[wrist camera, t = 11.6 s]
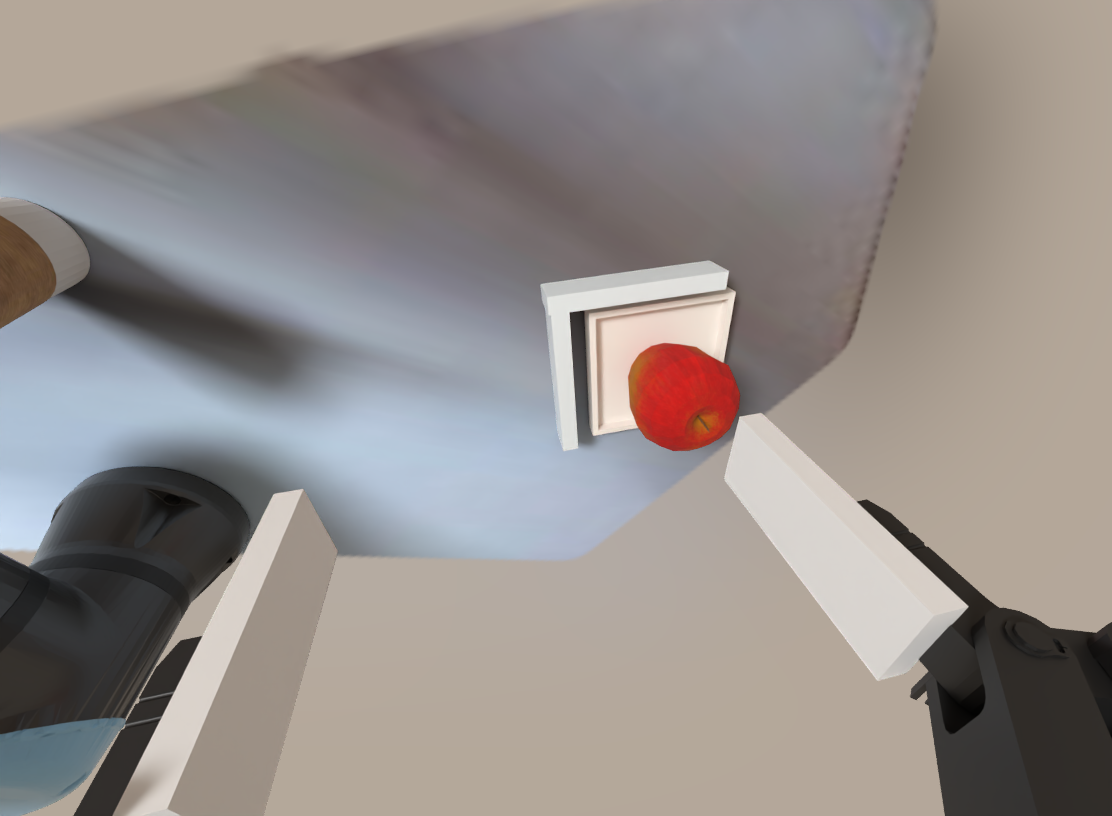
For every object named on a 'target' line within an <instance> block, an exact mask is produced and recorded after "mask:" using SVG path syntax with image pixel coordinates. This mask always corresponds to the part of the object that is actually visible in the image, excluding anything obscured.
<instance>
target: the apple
mask: <svg viewBox="0 0 1112 816" xmlns="http://www.w3.org/2000/svg"><path fill="white" fill-rule="evenodd" d="M628 386H629V403H630V409H631V411H632V414H633V417H634V419H635V422H636V424H637V426H638V428H639V429H640V431H641V432H642V433H643V435H644V436H645V438H647V439H648V440H650V441H652V442H654V443H656V444H657V445H659V446H661V447H664V448H667V449H670V450H672V451H689V450H694V449H697V448H700V447H703V446H706V445H709V444H710V443H712V442H714V441H716V440H717V439H719V438H721V437H722V436H723V435H724V434H725V433H726V432H727V431H728V430H729V429H730V427H731V424H732V422H733V420H734V418H735V416H736V414H737V411H738V409H739V400H740V393H739V390H738V387H737V384H736V381H735V379H734V376H733V374H732V372H731V370H730V368H729V366H728V365H726V364H725V363H723V362H721V361H719V360H717V359H715V358H713V357H712V356H710V355H708V354H707V353H705V352H703V351H702V350H700V349H699V348H697V347H694V346H688V345H682V344H672V343H661V344H657V345H653V346H650V347H649V348H647V349H646V350H644V351H643V352H641V353H640V354H639V355H638V356H637V358H636V359H635V361H634V362H633V364H632V365H631V369H630V372H629V375H628Z"/></svg>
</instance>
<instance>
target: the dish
mask: <svg viewBox="0 0 1112 816" xmlns="http://www.w3.org/2000/svg"><path fill="white" fill-rule="evenodd" d="M735 293H736V292H735V291H734V290H732V289H730V288H729V287H727V286H726V289H724V290H718V291H711V292H704V293H697V294H691V295H684V296H677V297H670V298H664V299H657V300H650V301H643V302H637V303H630V304H623V305H616V306H610V307H603V308H596V309H589V310H584V313H585V337H586V361H587V384H588V408H589V427H590V429H591V432H592V434H593V436H595V435H601V434H606V433H612V432H617V431H623V430H628V429H634V428H638V426H637V424H636V422H635V419H634V417H633V414H632V411H631V409H630V403H629V386H628V375H629V372H630V369H631V365H632V364H633V362H634V361H635V359H636V358H637V356H638V355H639V354H640V353H641V352H643V351H644V350H646V349H647V348H649V347H650V346H653V345H657V344H661V343H672V344H682V345H688V346H694V347H697V348H699V349H700V350H702V351H703V352H705V353H707V354H708V355H710V356H712V357H713V358H715V359H717V360H719V361H721V362H723V363H724V357H725V351H726V345H727V340H728V334H729V328H730V322H731V316H732V311H733V305H734V299H735Z"/></svg>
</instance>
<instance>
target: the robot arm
mask: <svg viewBox="0 0 1112 816" xmlns="http://www.w3.org/2000/svg"><path fill="white" fill-rule="evenodd" d="M724 480H725V481H726V483H727V484H728V485H729V486H730V488H731V489H732V490H733V492H734V493H735V494H736V496H737V497H738V498H739V500H740V501H741V502H742V504H743V505H744V506H745V508H746V509H747V510H748V512H749V513H750V514H751V515H752V517H753V518H754V519H755V521H756V522H757V523H758V524H759V526H760V527H761V528H762V530H763V531H764V533H765V534H766V535H767V537H768V538H769V539H770V540H771V541H772V543H773V544H774V546H775V547H776V548H777V550H778V551H779V552H780V553H781V555H782V556H783V557H784V559H785V560H786V561H787V563H788V564H789V565H790V567H791V568H792V569H793V571H794V572H795V573H796V575H797V576H798V577H799V579H800V580H801V581H802V583H803V584H804V585H805V586H806V588H807V589H808V590H809V592H810V593H811V594H812V596H813V597H814V598H815V600H816V601H817V602H818V603H819V605H820V606H821V607H822V609H823V610H824V611H825V613H826V614H827V615H828V617H829V618H830V619H831V621H832V622H833V623H834V625H835V626H836V627H837V628H838V630H839V631H840V632H841V634H842V635H843V636H844V638H845V639H846V640H847V642H848V643H849V644H850V646H851V647H852V648H853V649H854V651H855V652H856V653H857V655H858V656H859V657H860V658H861V660H862V661H863V663H864V664H865V665H866V667H867V668H868V669H869V671H870V672H871V673H872V674H873V676H874V677H875V678H876V680H877V681H879V680H883V679H886V678H890V677H894V676H897V675H901V674H905V673H907V672H908V671H909V670H910V669H911V668H912V667H913V666H914V665H915V664H916V663H917V661H918V660H920V662H922V664H923V665H924V666H925V667H926V668H927V669H928V671H929V672H928V673H927V674H926V675H925V676H924V677H923V678H922V679H921V680H920V681H919V682H918V683H917V684H916V685H915V686H914V687H913V688H912V689H911V696H910V697H911V698H913V699H915V700H917V699H918V698H919V697H920V696H921V695H922V694H923V693H924V692H925V691H926V690H927V697H928V699H927V700H926V702H925V704H927V705H929V710H930V717H931V724H932V731H933V738H934V745H935V751H936V758H937V765H938V772H939V778H940V785H941V792H942V798H943V805H944V812H945V816H1112V622H1111V623H1109V624H1108V625H1106V626H1105V627H1104V628H1102V629H1101V630H1100V631H1098V632H1097V633H1092V632H1083V631H1074V630H1065V629H1055V628H1050V627H1048V626H1047V625H1045V624H1044V623H1042V622H1041V621H1039V620H1037V619H1036V618H1034V617H1031V616H1029V615H1027V614H1025V613H1022V612H1020V611H1016V610H1012V609H1007V608H999V607H997V606H996V605H994V604H993V603H992V602H990V601H989V600H988V599H987V598H985V597H984V596H983V595H982V594H981V593H980V592H979V591H978V590H976V589H975V588H974V587H973V586H972V585H971V584H970V583H969V582H967V581H966V580H965V579H964V578H963V577H962V576H961V575H960V574H958V573H957V572H956V571H955V570H954V569H953V568H952V567H951V566H949V565H948V564H947V563H946V562H945V561H944V560H943V559H942V558H940V557H939V556H938V555H937V554H936V553H935V552H934V551H932V550H931V549H930V548H929V547H926V546H925V545H924V542H922V541H921V540H920V539H919V538H918V537H917V536H916V535H915V534H913V533H910V532H909V530H908V528H907V527H906V526H904V525H903V524H902V523H901V522H900V521H899V520H898V519H896V518H895V517H894V516H893V515H892V514H891V513H889V512H888V511H886V510H884V509H883V508H881V507H879V506H877V505H875V504H874V503H872V502H870V501H868V500H862V501H858V502H856V501H855V500H854V499H853V498H852V497H851V496H850V495H849V494H848V493H847V492H845V491H844V490H843V489H842V488H841V487H840V486H839V485H838V484H837V483H836V482H835V481H834V480H833V479H831V478H830V477H829V476H828V475H827V474H826V473H825V472H824V471H823V470H822V469H821V468H820V467H818V465H817V464H815V463H814V462H813V461H812V460H811V459H810V458H809V457H808V456H807V455H806V454H805V453H804V452H803V451H802V450H800V449H799V448H798V447H797V446H796V445H795V444H794V443H793V442H792V441H791V440H790V439H789V438H787V437H786V436H785V435H784V434H783V433H782V432H781V431H780V430H779V429H778V428H777V427H776V426H775V425H774V424H773V423H772V422H770V421H769V420H768V419H767V418H766V417H765V416H764V415H763V414H762V413H759V414H753V415H747V416H741V417H739V421H738V425H737V429H736V433H735V437H734V441H733V445H732V449H731V453H730V458H729V461H728V465H727V469H726V473H725V477H724ZM249 531H250V525H249V520H248V517H247V515H246V513H245V511H244V510H243V508H242V507H241V506H240V505H239V503H238V502H237V501H236V500H235V499H233V498H232V497H231V496H230V495H229V494H227V493H226V492H225V491H223V490H222V489H220V488H218V487H217V486H215V485H213V484H211V483H209V482H207V481H205V480H202V479H200V478H197V477H195V476H192V475H189V474H185V473H182V472H178V471H174V470H168V469H162V468H154V467H124V468H116V469H111V470H107V471H103V472H100V473H97V474H95V475H93V476H91V477H89V478H87V479H85V480H84V481H83V482H81V483H80V484H79V485H78V486H77V487H76V488H75V489H74V490H73V491H72V492H70V493H69V494H68V495H67V496H66V497H65V498H64V499H63V500H62V501H61V503H60V504H59V505H58V507H57V508H56V510H55V512H54V515H53V518H52V521H51V525H50V527H49V529H48V531H47V533H46V535H45V536H44V538H43V541H42V543H41V545H40V547H39V549H38V551H37V553H36V556H35V557H34V560H33V562H32V563H31V565H30V566H29V567H27V566H25V565H24V564H21V563H20V562H18V561H16V560H14V559H12V558H10V557H8V556H6V555H4V554H2V553H0V816H21V815H24V814H27V813H30V812H33V811H36V810H39V809H41V808H43V807H46V806H48V805H51V804H53V803H55V802H57V801H59V800H60V799H62V798H64V797H65V796H67V795H68V794H70V793H71V792H73V791H74V790H75V789H76V788H78V787H79V786H80V785H81V784H82V783H83V782H84V781H85V780H86V779H87V777H88V776H89V775H90V774H91V772H92V771H93V769H94V768H95V766H96V765H97V763H98V762H99V760H100V759H101V757H102V756H103V754H104V753H105V751H106V750H107V748H108V747H109V745H110V743H111V742H112V741H113V739H114V738H115V736H116V735H117V733H118V731H120V730H121V729H122V728H123V727H124V725H125V724H126V726H125V728H124V729H123V730H121V731H120V733H119V735H118V737H117V739H116V740H115V742H114V744H113V746H112V747H111V749H110V751H109V753H108V755H107V757H106V759H105V760H104V762H103V764H102V765H101V767H100V769H99V771H98V773H97V774H96V776H95V778H94V780H93V782H92V783H91V785H90V787H89V789H88V790H87V792H86V794H85V796H84V798H83V800H82V801H81V803H80V805H79V807H78V808H77V810H76V812H75V814H74V816H263V815H264V812H265V809H266V805H267V801H268V797H269V794H270V791H271V787H272V783H273V780H274V776H275V773H276V769H277V766H278V762H279V759H280V755H281V751H282V748H283V745H284V741H285V738H286V734H287V730H288V727H289V723H290V720H291V716H292V712H293V709H294V705H295V702H296V698H297V695H298V691H299V688H300V684H301V681H302V677H303V673H304V670H305V666H306V663H307V659H308V656H309V652H310V649H311V645H312V642H313V638H314V635H315V631H316V627H317V624H318V620H319V617H320V613H321V609H322V606H323V603H324V599H325V595H326V592H327V588H328V585H329V581H330V578H331V574H332V570H333V567H334V563H335V560H336V556H337V553H338V550H337V549H336V547H335V545H334V543H333V541H332V540H331V538H330V536H329V534H328V532H327V531H326V529H325V527H324V525H323V523H322V522H321V520H320V518H319V516H318V514H317V513H316V511H315V509H314V507H313V505H312V504H311V502H310V500H309V498H308V496H307V495H306V493H305V491H304V489H300V490H294V491H288V492H282V493H276V494H273V496H272V498H271V500H270V502H269V504H268V506H267V508H266V510H265V512H264V514H263V516H262V518H261V520H260V522H259V524H258V526H257V528H256V530H255V532H254V534H253V536H252V538H251V540H250V542H249V544H248V546H247V548H246V550H245V552H244V554H243V556H242V558H241V561H240V562H239V564H238V567H237V568H236V570H235V572H234V574H233V576H232V578H231V580H230V582H229V584H228V586H227V588H226V590H225V592H224V594H223V596H222V598H221V600H220V602H219V604H218V606H217V608H216V610H215V612H214V614H213V616H212V618H211V620H210V622H209V624H208V626H207V628H206V630H205V632H204V634H203V636H200V637H195V638H191V639H186V640H181V641H180V642H179V643H178V644H177V645H176V646H175V647H174V648H173V650H172V651H171V652H170V653H169V654H168V655H167V656H166V657H165V659H164V660H163V661H162V662H161V663H160V664H159V665H158V666H157V667H156V669H155V671H154V672H153V674H152V676H151V678H150V680H149V681H148V683H147V685H146V687H145V688H144V690H143V692H142V694H141V696H140V697H139V699H140V701H139V703H138V704H136V705H135V706H134V708H133V710H132V712H131V714H130V715H129V717H128V719H127V721H126V717H127V715H128V713H129V711H130V710H131V708H132V706H133V704H134V703H135V701H136V699H137V697H138V695H139V694H140V692H141V690H142V688H143V687H144V685H145V683H146V681H147V679H148V678H149V676H150V674H151V672H152V671H153V669H154V667H155V665H156V663H157V662H158V660H159V658H160V656H161V654H162V653H163V651H164V649H165V648H166V646H167V644H168V642H169V640H170V639H171V637H172V635H173V633H174V632H175V630H176V628H177V626H178V625H179V623H180V621H181V619H182V617H183V615H184V614H185V612H186V610H187V609H188V607H189V605H190V604H191V602H192V601H193V600H195V598H197V597H198V596H199V595H200V594H201V593H202V592H203V591H204V590H205V589H206V588H207V587H208V586H209V585H210V584H211V583H212V582H213V581H214V580H215V579H216V578H217V577H218V576H219V575H220V574H221V573H222V572H223V571H225V570H226V569H227V568H228V567H229V566H230V565H231V564H232V563H233V562H234V561H235V560H236V558H237V557H238V556H239V554H240V552H241V550H242V548H243V546H244V545H245V543H246V541H247V539H248V536H249Z"/></svg>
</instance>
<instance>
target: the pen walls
mask: <svg viewBox="0 0 1112 816" xmlns="http://www.w3.org/2000/svg"><path fill="white" fill-rule="evenodd" d="M728 273H729V271H728V270H726V269H724V268H722V267H720V266H719V265H717V264H715V263H713V262H711V261H702V262H695V263H687V264H680V265H673V266H666V267H659V268H652V269H644V270H637V271H630V272H623V273H616V274H609V275H602V276H594V277H587V278H580V279H573V280H566V281H559V282H551V283H544V284H541V294H542V302H543V304H544V306H545V312H546V322H547V332H548V343H549V353H550V363H551V373H552V383H553V393H554V403H555V413H556V423H557V432H558V435H559V438H560V442H561V445H562V448H563V451H566V450H572V449H577V448H578V438H577V423H576V407H575V392H574V376H573V360H572V345H571V329H570V314H569V312H576V311H583V310H589V309H596V308H603V307H610V306H616V305H623V304H630V303H637V302H643V301H650V300H657V299H664V298H670V297H677V296H684V295H691V294H697V293H704V292H711V291H718V290H724V289H726V286H727V280H728Z"/></svg>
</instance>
